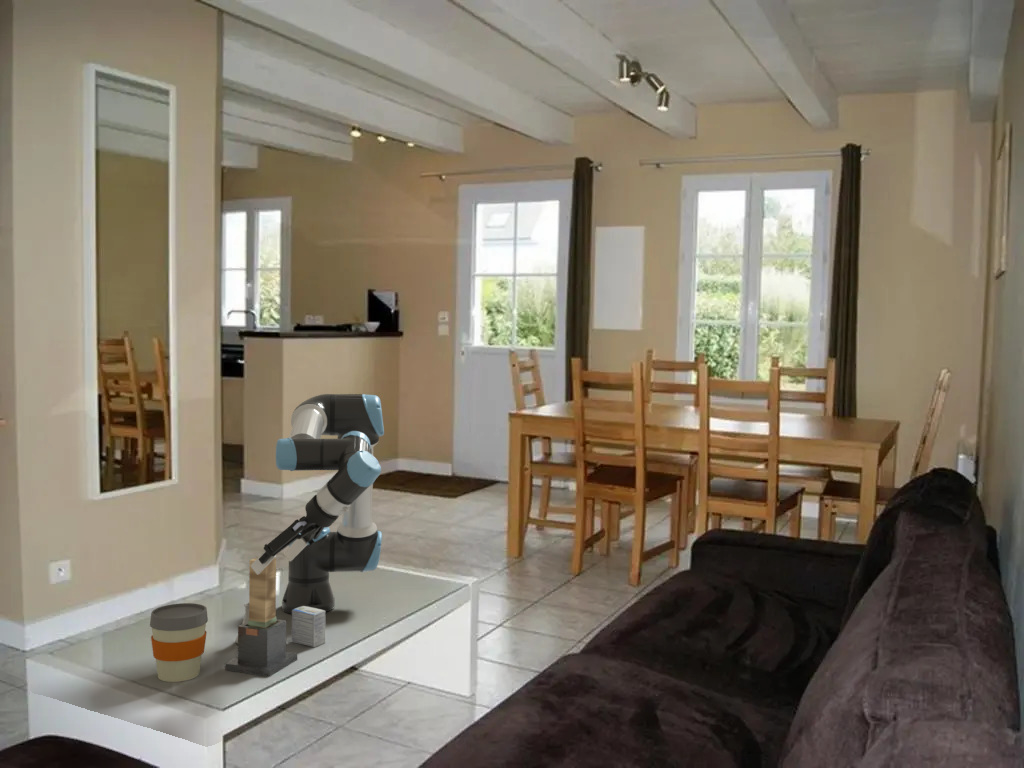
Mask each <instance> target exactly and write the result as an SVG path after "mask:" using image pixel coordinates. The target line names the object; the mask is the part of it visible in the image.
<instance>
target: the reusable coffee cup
mask: <svg viewBox="0 0 1024 768" xmlns="http://www.w3.org/2000/svg"><path fill="white" fill-rule="evenodd" d="M208 620H209V618H208V610H207V606H206V605H203V604H201V603H200V604H199V603H192V602H191V603H190V602H185V603H184V602H182V603H173V604H167V605H161V606H160V607H157V608H155V609H153V610H151V613H150V620H149V621H150V622H149V627H151V632H152V633H151V634H152V635H151V636H150V641H151V647H152V654H153V655H152V656H153V658H154V659H155V663H156V670H157V677H158V679H159V680H160V681H163V682H167V683H175V682H176V683H177V682H185V681H190V680H191V679H192V680H193V679H194V678H196V677H198V676H199V675H200V670H201V662H202V655H203V654H204V652H205V647H206V641H207V631H206V627H207V623H208V622H209V621H208Z"/></svg>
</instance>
